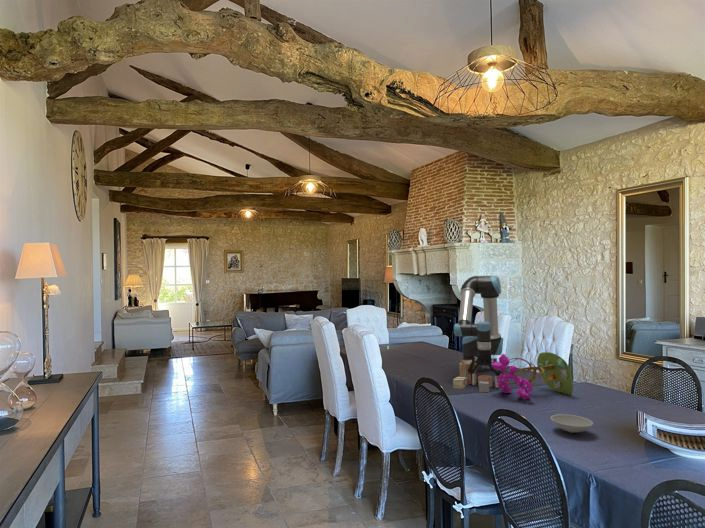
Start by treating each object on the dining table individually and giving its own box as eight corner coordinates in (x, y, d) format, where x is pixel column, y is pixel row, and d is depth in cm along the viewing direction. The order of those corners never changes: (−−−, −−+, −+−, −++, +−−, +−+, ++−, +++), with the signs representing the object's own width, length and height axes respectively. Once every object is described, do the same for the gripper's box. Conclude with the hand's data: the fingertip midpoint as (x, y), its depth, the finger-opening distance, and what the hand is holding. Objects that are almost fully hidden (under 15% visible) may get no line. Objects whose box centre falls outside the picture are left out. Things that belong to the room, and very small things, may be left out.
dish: (542, 428, 208) (541, 416, 209) (571, 424, 213) (570, 412, 213) (572, 441, 192) (571, 428, 192) (603, 437, 196) (602, 424, 196)
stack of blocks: (459, 377, 318) (458, 357, 318) (469, 377, 318) (468, 357, 318) (466, 384, 296) (465, 363, 297) (477, 384, 296) (476, 363, 297)
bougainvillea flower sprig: (566, 338, 260) (508, 352, 250) (584, 394, 253) (525, 411, 243) (533, 346, 288) (479, 359, 278) (549, 396, 281) (494, 411, 271)
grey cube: (480, 390, 280) (480, 381, 280) (489, 390, 278) (489, 381, 278) (479, 392, 275) (479, 383, 276) (488, 392, 274) (488, 383, 274)
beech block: (457, 385, 295) (457, 376, 295) (466, 386, 292) (466, 377, 292) (453, 388, 287) (452, 379, 287) (462, 389, 284) (462, 380, 284)
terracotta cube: (482, 385, 293) (482, 374, 293) (492, 386, 290) (492, 375, 290) (478, 387, 288) (478, 376, 288) (488, 388, 285) (488, 377, 285)
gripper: (461, 348, 294) (462, 385, 293) (503, 351, 279) (504, 389, 279) (466, 346, 300) (467, 382, 299) (508, 349, 285) (509, 387, 285)
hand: (485, 386), depth 289 cm, fingers open, 13 cm apart
